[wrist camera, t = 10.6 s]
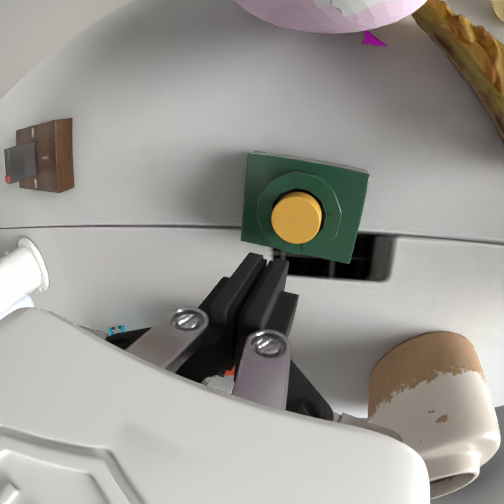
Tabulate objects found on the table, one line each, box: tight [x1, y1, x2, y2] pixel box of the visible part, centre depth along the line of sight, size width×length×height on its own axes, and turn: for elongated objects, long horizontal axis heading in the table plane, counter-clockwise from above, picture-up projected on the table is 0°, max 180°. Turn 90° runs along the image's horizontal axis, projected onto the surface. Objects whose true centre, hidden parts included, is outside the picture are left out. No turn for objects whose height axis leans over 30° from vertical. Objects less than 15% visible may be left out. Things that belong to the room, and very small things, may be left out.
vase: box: [368, 332, 501, 499], centre depth 21 cm, size 15×15×17 cm
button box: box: [241, 151, 370, 264], centre depth 23 cm, size 10×8×4 cm
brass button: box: [271, 192, 322, 244], centre depth 21 cm, size 4×4×2 cm
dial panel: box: [16, 118, 74, 193], centre depth 30 cm, size 14×10×3 cm
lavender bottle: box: [0, 294, 34, 320], centre depth 45 cm, size 6×6×22 cm
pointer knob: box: [4, 142, 37, 184], centre depth 27 cm, size 5×2×5 cm, turn 175°
